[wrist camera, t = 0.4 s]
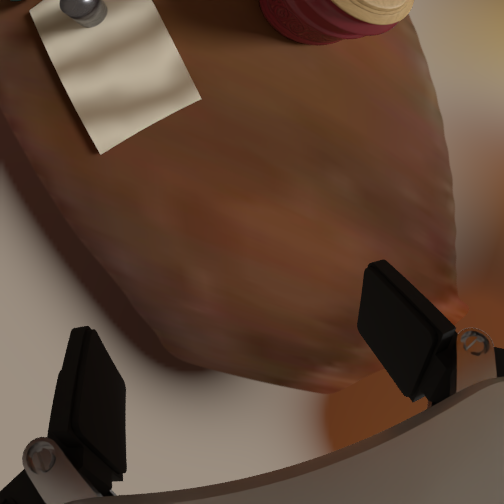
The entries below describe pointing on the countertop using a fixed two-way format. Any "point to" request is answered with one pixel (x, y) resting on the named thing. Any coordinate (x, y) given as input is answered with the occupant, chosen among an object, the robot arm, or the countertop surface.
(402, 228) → the countertop surface
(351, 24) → the canister
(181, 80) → the cream rippled cloth
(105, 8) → the cylinder
